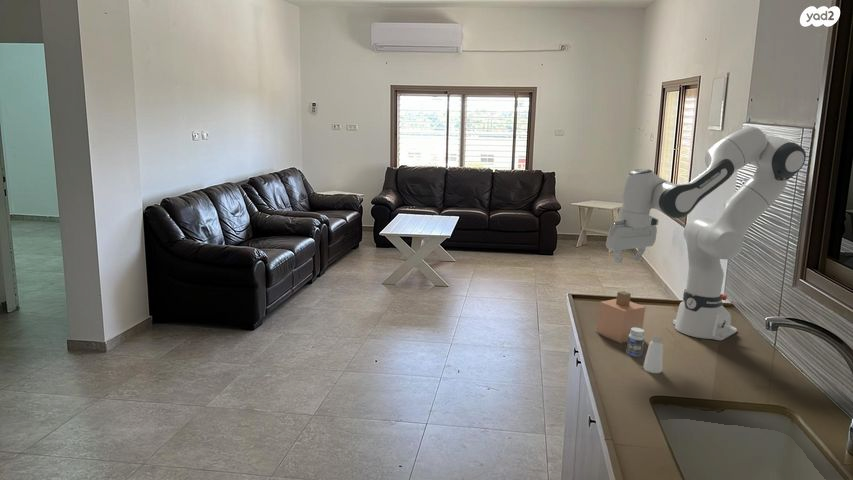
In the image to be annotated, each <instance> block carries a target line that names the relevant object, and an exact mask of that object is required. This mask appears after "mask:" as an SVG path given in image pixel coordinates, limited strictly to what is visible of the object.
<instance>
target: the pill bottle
mask: <svg viewBox="0 0 853 480" xmlns="http://www.w3.org/2000/svg"><path fill="white" fill-rule="evenodd" d="M630 333H631V334H629V337H628V342H627V343H626V344H627V345H626V352H625V353H626V354H627V355H629V356H630V357H631V356H632V357H642V356H643V350H644V344H645V330H644V329H643V328H642V329H641V328H635V327H634V328H631V331H630Z"/></svg>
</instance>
